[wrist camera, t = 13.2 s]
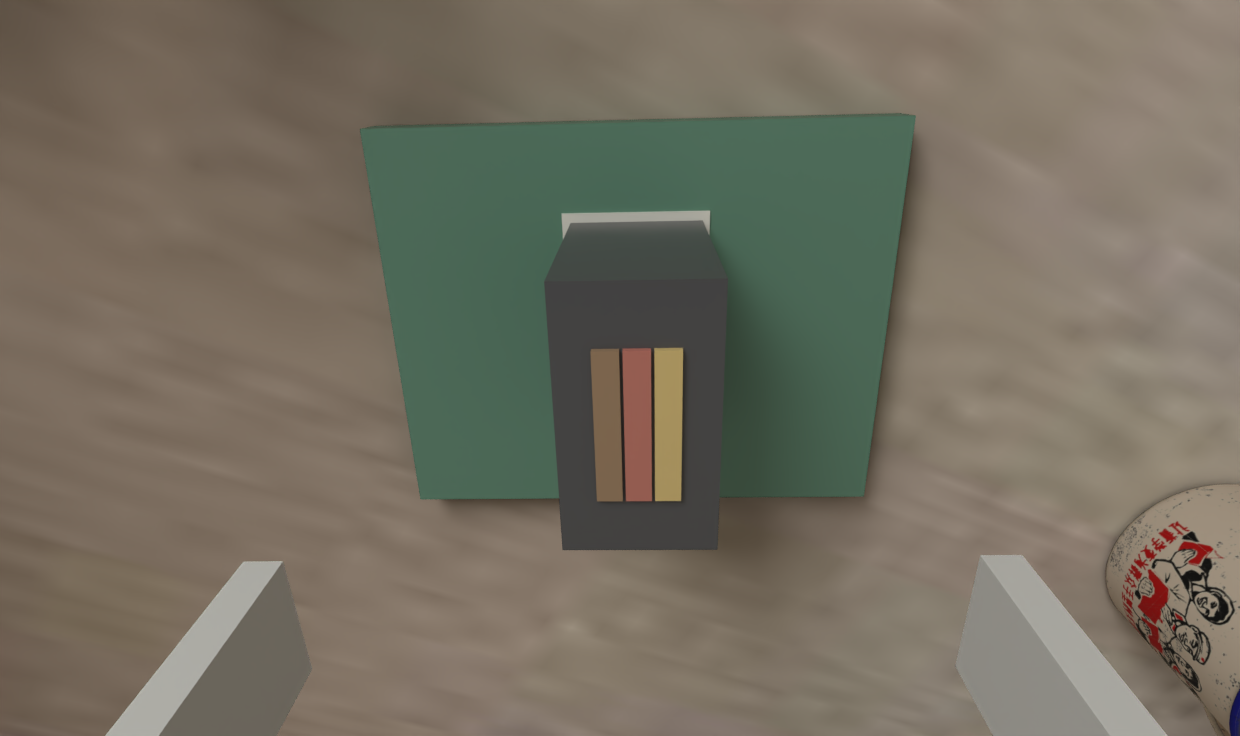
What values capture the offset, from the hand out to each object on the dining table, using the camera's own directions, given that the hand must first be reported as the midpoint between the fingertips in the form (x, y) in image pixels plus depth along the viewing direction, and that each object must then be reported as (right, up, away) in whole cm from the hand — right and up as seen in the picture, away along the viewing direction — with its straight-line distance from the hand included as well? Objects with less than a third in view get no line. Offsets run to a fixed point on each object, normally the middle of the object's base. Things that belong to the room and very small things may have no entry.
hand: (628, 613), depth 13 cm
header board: (+1, +7, +16) cm, 17 cm away
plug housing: (+1, +6, +15) cm, 16 cm away
